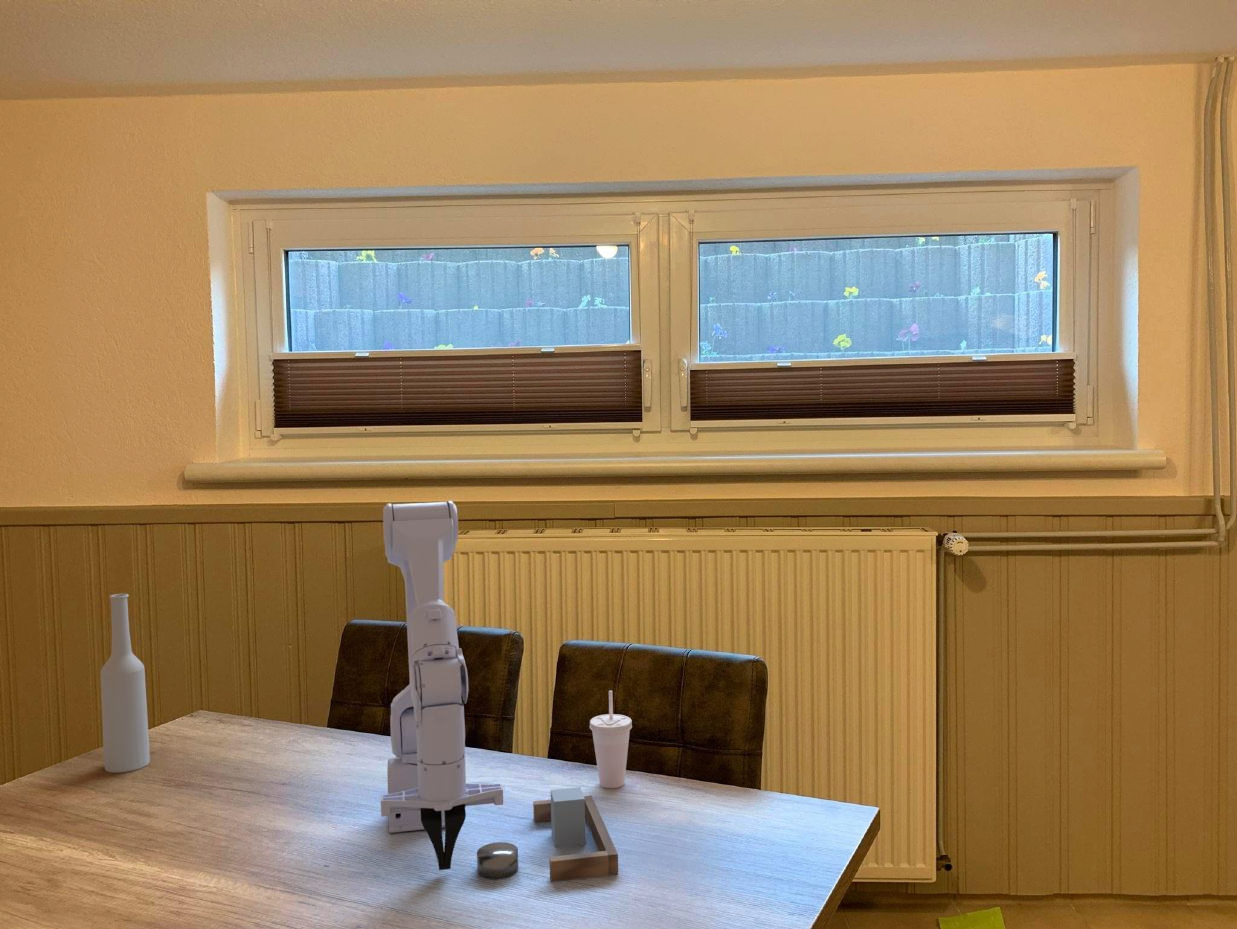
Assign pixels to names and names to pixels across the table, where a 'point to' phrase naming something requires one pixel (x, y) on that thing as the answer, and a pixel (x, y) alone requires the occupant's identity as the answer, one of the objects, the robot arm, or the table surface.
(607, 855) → the walnut bay
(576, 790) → the grey block
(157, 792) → the table surface
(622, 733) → the smoothie
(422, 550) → the robot arm
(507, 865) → the grey puck
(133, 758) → the bottle
